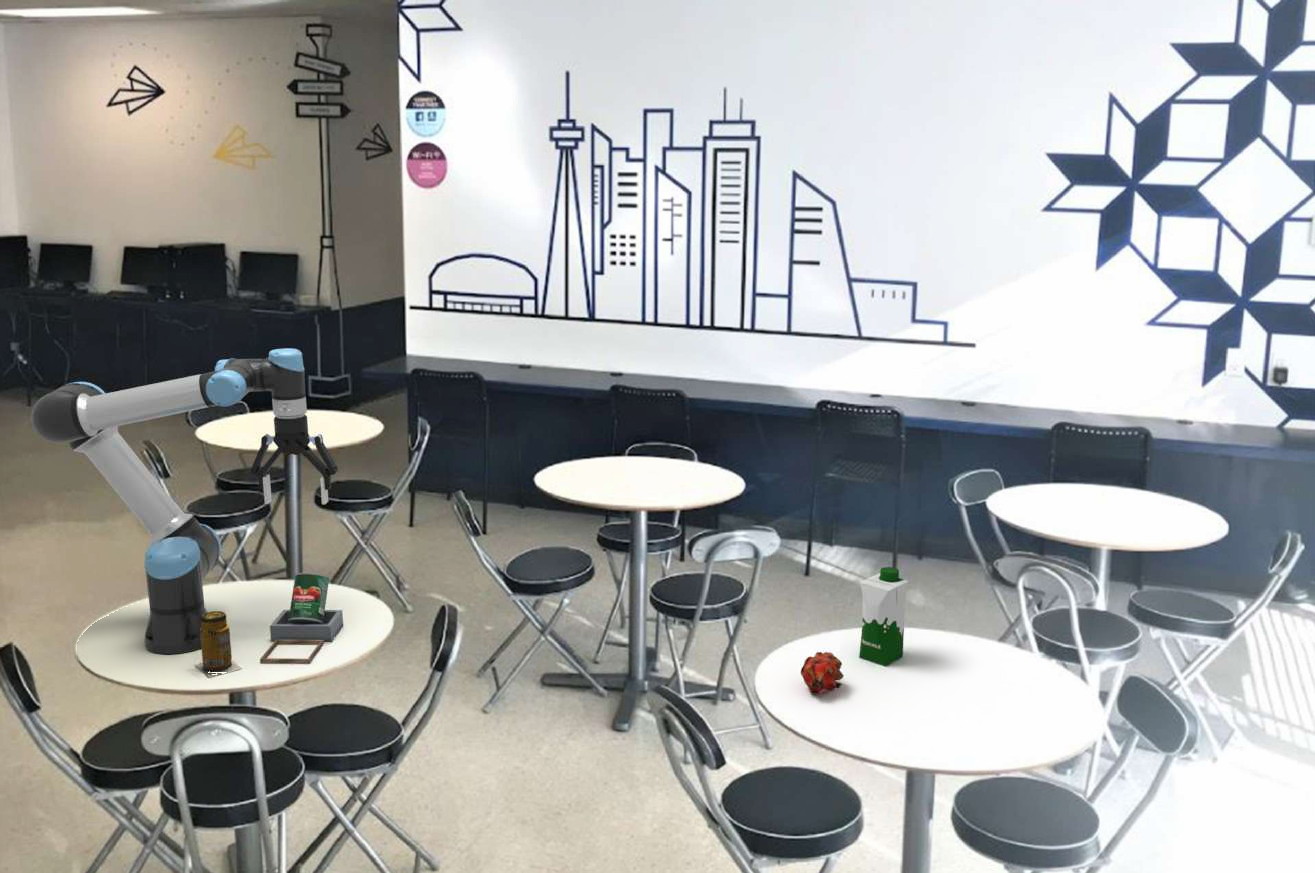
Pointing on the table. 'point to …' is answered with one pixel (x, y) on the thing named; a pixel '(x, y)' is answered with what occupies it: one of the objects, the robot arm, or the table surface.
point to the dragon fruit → (822, 672)
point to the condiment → (216, 644)
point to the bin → (307, 627)
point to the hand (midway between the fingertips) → (296, 502)
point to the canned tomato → (308, 599)
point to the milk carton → (883, 617)
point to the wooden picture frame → (292, 660)
